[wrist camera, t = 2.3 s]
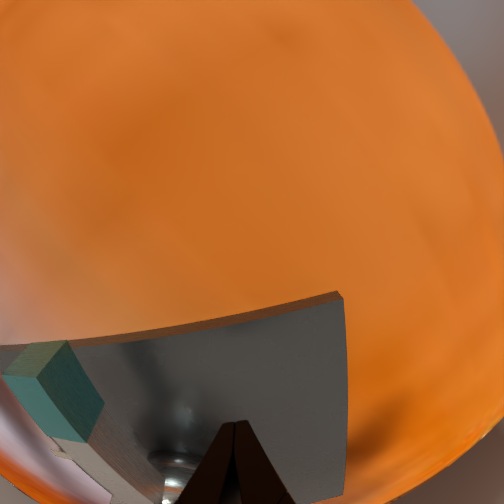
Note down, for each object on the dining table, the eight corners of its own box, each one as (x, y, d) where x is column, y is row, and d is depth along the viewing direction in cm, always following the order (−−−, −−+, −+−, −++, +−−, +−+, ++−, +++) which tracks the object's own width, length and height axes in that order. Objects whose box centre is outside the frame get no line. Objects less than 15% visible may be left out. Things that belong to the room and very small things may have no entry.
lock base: (116, 499, 18) (112, 515, 16) (-16, 345, 12) (-34, 362, 9) (341, 488, 18) (346, 508, 15) (336, 290, 12) (358, 318, 9)
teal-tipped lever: (254, 507, 13) (256, 540, 10) (153, 506, 13) (148, 536, 10) (143, 317, 8) (109, 378, 5) (7, 335, 8) (-29, 370, 6)
